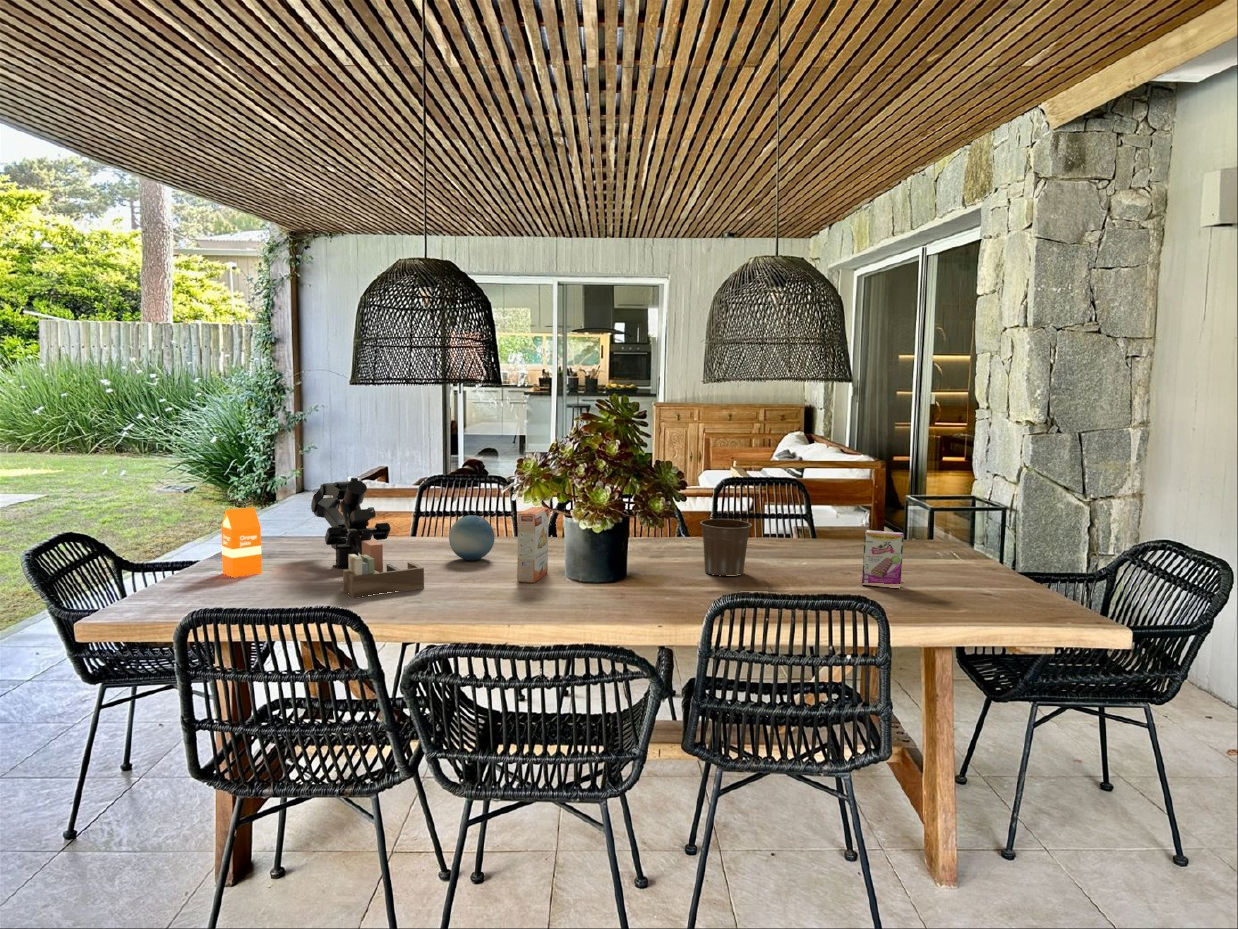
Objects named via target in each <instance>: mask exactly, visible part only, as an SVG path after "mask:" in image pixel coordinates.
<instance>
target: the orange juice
mask: <svg viewBox="0 0 1238 929" xmlns="http://www.w3.org/2000/svg"><path fill="white" fill-rule="evenodd" d="M255 508H256V507H254V506H253V507H252V506H251V507H243V508H232V509H226V510H225V511H224V512H225V513H224V517H223V520H222V522H221V526H220V528H221V530H220V532H221V560H222V563H221V564H222V574H223V575H225V574H226V575H225V576H228V577H230V576H231V577H230V578H232V577H234V578H239V577H238V576H241V577H246V576H245V575H247V576H251V575H250V574H253V575H258V574H263V570H262V566H263V565H262V560H263V559H262V537H261V536H262V529H261V527H262V526H261V524H260V520H259V518H258V513H257V512H256V509H255Z"/></svg>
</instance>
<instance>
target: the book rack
mask: <svg viewBox="0 0 1238 929" xmlns="http://www.w3.org/2000/svg"><path fill="white" fill-rule="evenodd" d="M348 562H349V569H343V570H342V579H343V580H342V583H343V584H342V585H343V590H344V591H346V592H347V593H349V594H350V595H351V596H352V597H351V596H350V595H349V594H348V595H349V596H350V597H351V598H353V599H358V598H357V597H360V598H363V597H362V596H368V595H373V594H379V593H387V592H395V591H404V592H409V590H411V591H416V589H418V590H423V589H425V569H424V568H425V567H422V566H421V565H418V564H417V563H415V562H413V561H407V569H401V568H398V567H396V566H394V565H393V564H391V563H387V564H386V568H385V569H386V571H383V572H380V573H379V572H378V571H376V570H375V561H374V558H372V557H370V556H368V555H366V554H365V555H360V556H357V555H355V554H348ZM344 591H343V592H344ZM346 592H345V593H346ZM347 593H346V594H347ZM368 597H369V596H368Z"/></svg>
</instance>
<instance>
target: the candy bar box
mask: <svg viewBox="0 0 1238 929" xmlns="http://www.w3.org/2000/svg"><path fill="white" fill-rule="evenodd" d="M904 538H905V534H904V532H896V531H895V532H894V531H886V530H885V531H882V530H871V529H865V532H864V540H863V543H864V544H863V557H862V558H863V560H862V574H861V575H862V576H861V584H862V583H884V584H902V569H903V555H904V554H903V553H904V552H903V551H904Z"/></svg>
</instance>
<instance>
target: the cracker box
mask: <svg viewBox="0 0 1238 929" xmlns="http://www.w3.org/2000/svg"><path fill="white" fill-rule="evenodd" d="M549 512H550V507H549V508H548V507H536V506H532V507H530V508H527V509H525V510H523V511H520V512H518V513H517V563H516V564H517V566H516V567H517V570H516V572H517V573H516V579H517V580H516V582H517V583H527V584H535V583H537V581H539V580H540V579H541V578H542V577H544V576H546V575H547V574H548V572H549V571H548V569H549V566H548V565H549V563H548V562H549V522H550V520H549V518H550V517H549V515H550V514H549Z"/></svg>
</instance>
